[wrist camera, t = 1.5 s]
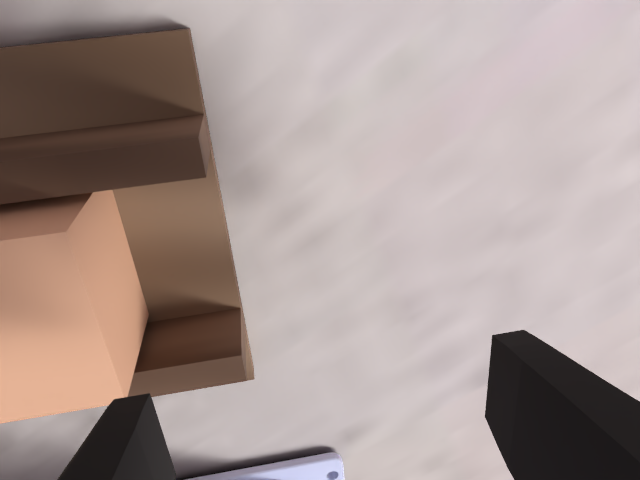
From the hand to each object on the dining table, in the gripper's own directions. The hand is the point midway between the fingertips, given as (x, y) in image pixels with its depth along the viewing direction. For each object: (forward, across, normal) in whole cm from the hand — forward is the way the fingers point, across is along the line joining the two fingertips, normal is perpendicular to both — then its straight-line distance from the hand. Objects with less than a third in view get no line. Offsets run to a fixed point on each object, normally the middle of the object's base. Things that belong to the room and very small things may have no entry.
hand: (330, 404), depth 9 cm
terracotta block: (+8, +8, 0) cm, 11 cm away
